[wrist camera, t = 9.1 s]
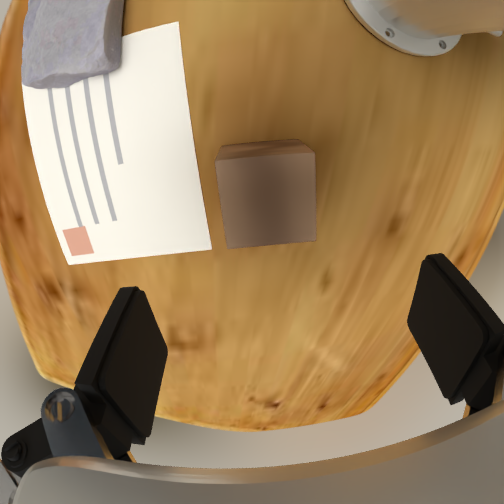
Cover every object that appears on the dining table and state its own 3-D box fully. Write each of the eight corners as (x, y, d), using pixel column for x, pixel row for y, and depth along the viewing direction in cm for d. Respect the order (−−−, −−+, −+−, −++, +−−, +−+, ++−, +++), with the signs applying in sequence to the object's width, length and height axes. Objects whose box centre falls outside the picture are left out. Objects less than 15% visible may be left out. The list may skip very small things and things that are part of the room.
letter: (178, 22, 17) (178, 21, 16) (212, 248, 27) (211, 249, 26) (23, 81, 17) (21, 81, 17) (69, 263, 27) (68, 265, 27)
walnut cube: (297, 138, 22) (314, 152, 17) (301, 208, 25) (316, 240, 20) (222, 145, 22) (214, 161, 17) (230, 214, 25) (227, 249, 20)
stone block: (49, 95, 20) (130, 72, 18) (12, 100, 15) (92, 68, 14) (58, -7, 14) (141, -43, 13) (25, -14, 10) (110, -63, 8)
